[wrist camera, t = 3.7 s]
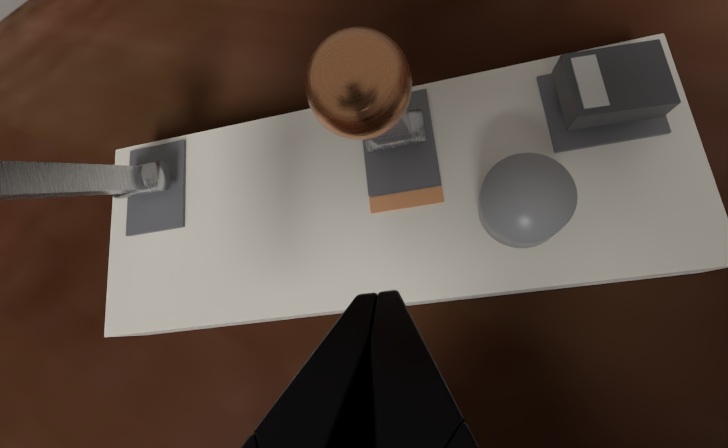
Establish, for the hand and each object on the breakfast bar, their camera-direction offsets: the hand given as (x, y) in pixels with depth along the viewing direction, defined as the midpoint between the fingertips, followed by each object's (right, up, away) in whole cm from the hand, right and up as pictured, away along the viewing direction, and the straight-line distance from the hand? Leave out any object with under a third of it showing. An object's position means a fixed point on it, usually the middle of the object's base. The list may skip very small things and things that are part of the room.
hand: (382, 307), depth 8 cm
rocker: (+10, +8, +9) cm, 16 cm away
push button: (+7, +2, +10) cm, 12 cm away
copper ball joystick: (+1, +6, +11) cm, 13 cm away
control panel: (0, +2, +15) cm, 15 cm away
